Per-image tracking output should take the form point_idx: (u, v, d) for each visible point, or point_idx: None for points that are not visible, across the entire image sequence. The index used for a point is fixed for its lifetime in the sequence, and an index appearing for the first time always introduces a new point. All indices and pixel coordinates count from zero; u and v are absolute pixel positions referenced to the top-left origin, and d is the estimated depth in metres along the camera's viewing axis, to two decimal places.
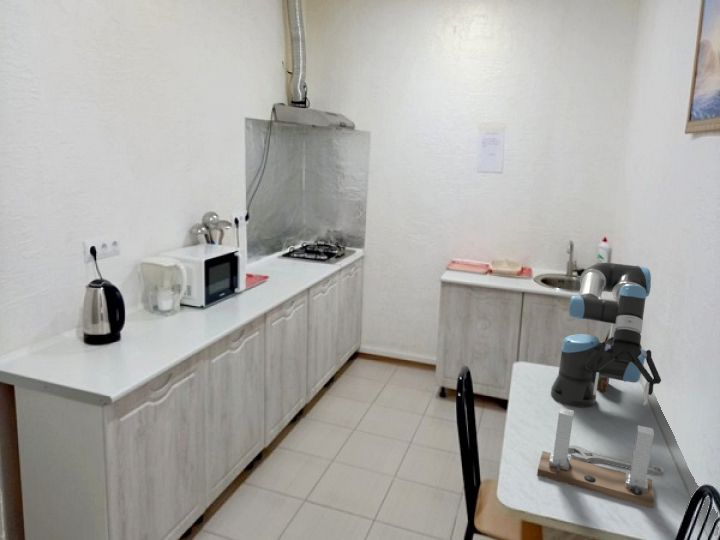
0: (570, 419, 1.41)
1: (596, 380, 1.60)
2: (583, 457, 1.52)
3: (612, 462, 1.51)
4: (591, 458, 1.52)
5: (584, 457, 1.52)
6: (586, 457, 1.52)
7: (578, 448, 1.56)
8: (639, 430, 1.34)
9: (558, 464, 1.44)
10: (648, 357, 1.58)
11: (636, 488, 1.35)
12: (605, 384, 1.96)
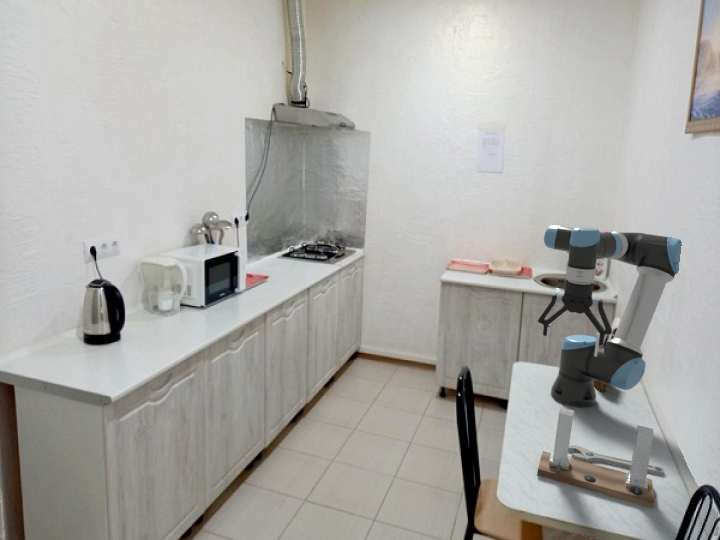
0: (570, 419, 1.41)
1: (547, 335, 1.58)
2: (584, 457, 1.52)
3: (613, 462, 1.51)
4: (592, 458, 1.52)
5: (585, 457, 1.52)
6: (587, 457, 1.52)
7: (579, 448, 1.56)
8: (639, 430, 1.34)
9: (558, 464, 1.44)
10: (599, 309, 1.51)
11: (636, 488, 1.35)
12: (605, 384, 1.96)
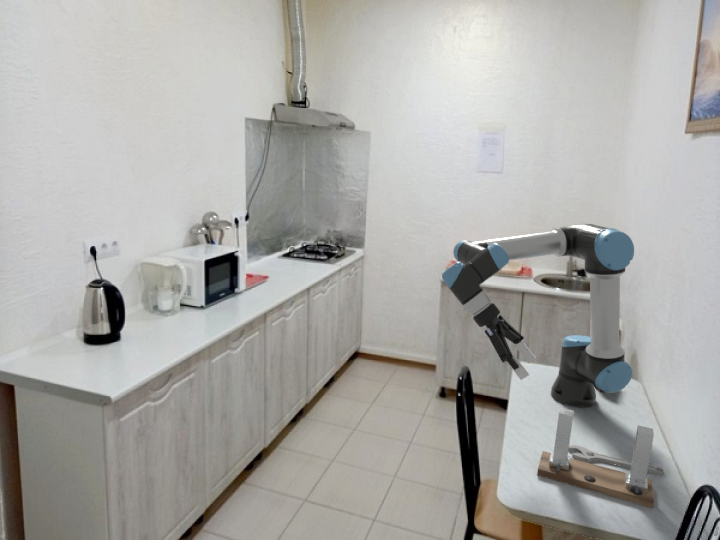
0: (570, 419, 1.41)
1: None
2: (585, 457, 1.52)
3: (614, 462, 1.51)
4: (593, 458, 1.52)
5: (586, 457, 1.52)
6: (588, 457, 1.52)
7: (580, 448, 1.56)
8: (639, 430, 1.34)
9: (558, 464, 1.44)
10: None
11: (636, 488, 1.35)
12: None
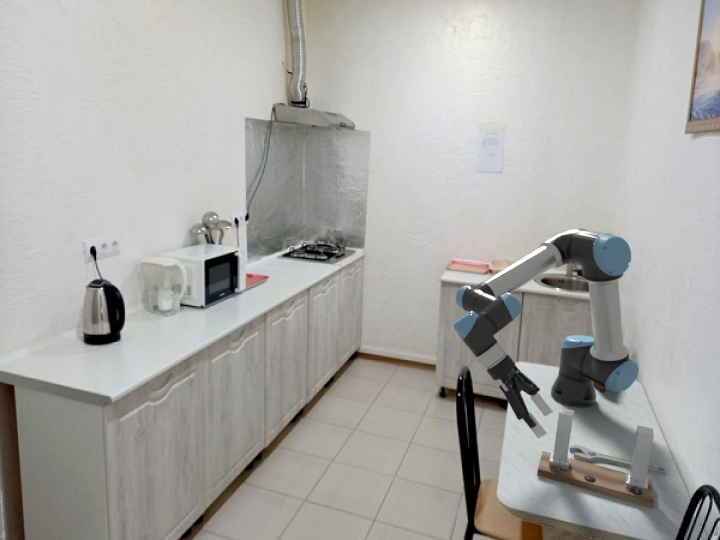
0: (570, 419, 1.41)
1: None
2: (586, 457, 1.52)
3: (615, 462, 1.51)
4: (594, 458, 1.52)
5: (587, 457, 1.52)
6: (589, 457, 1.52)
7: (581, 448, 1.56)
8: (639, 430, 1.34)
9: (558, 464, 1.44)
10: None
11: (636, 488, 1.35)
12: None
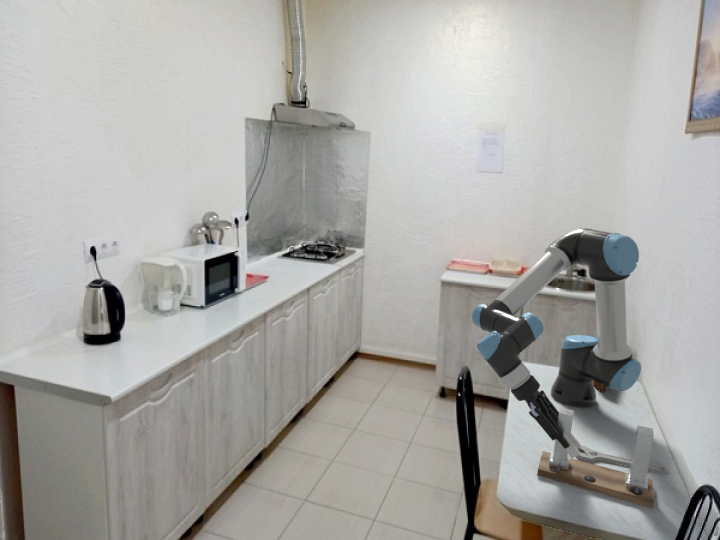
0: (570, 419, 1.41)
1: None
2: (588, 457, 1.52)
3: (617, 461, 1.51)
4: (596, 457, 1.52)
5: (589, 456, 1.52)
6: (591, 456, 1.52)
7: (583, 447, 1.57)
8: (639, 430, 1.34)
9: (558, 464, 1.44)
10: None
11: (636, 488, 1.35)
12: None
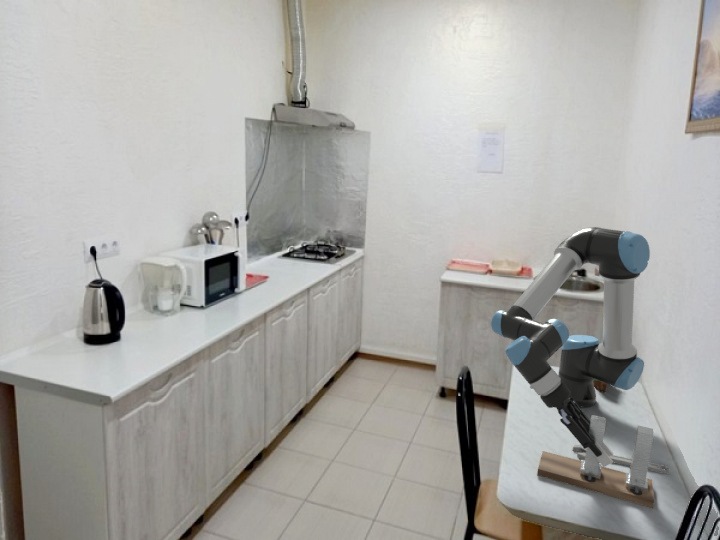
0: (602, 427, 1.37)
1: None
2: None
3: (618, 461, 1.51)
4: None
5: None
6: None
7: None
8: (639, 430, 1.34)
9: (589, 472, 1.40)
10: None
11: (636, 488, 1.35)
12: (605, 384, 1.96)
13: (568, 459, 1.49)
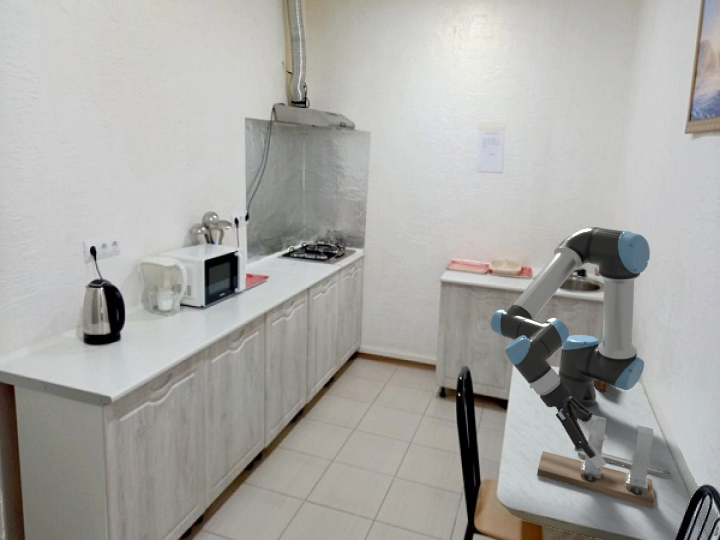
0: (603, 427, 1.37)
1: None
2: None
3: (619, 462, 1.51)
4: None
5: None
6: None
7: None
8: (639, 430, 1.34)
9: (590, 473, 1.40)
10: None
11: (636, 488, 1.35)
12: (605, 384, 1.96)
13: (568, 459, 1.49)
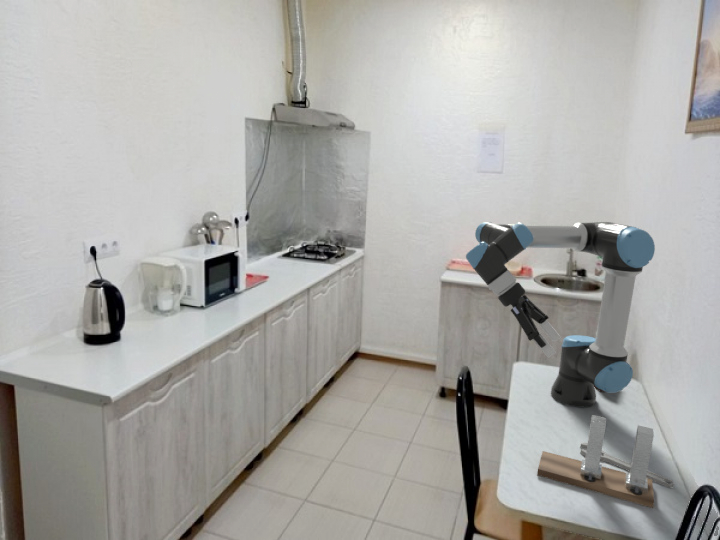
0: (603, 427, 1.37)
1: None
2: None
3: (621, 465, 1.49)
4: None
5: None
6: None
7: None
8: (639, 430, 1.34)
9: (590, 473, 1.40)
10: None
11: (636, 488, 1.35)
12: None
13: (568, 459, 1.49)
